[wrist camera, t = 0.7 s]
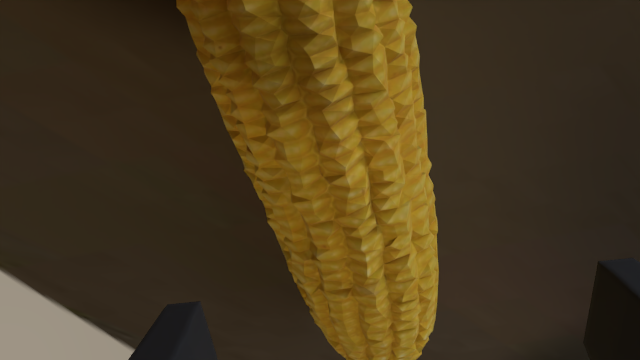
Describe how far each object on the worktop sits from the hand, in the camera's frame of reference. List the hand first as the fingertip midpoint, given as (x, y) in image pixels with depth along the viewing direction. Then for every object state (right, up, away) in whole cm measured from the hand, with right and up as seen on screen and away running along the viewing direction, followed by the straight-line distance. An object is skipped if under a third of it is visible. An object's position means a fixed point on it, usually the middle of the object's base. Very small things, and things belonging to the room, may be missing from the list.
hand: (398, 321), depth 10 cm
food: (-1, +6, +8) cm, 10 cm away
